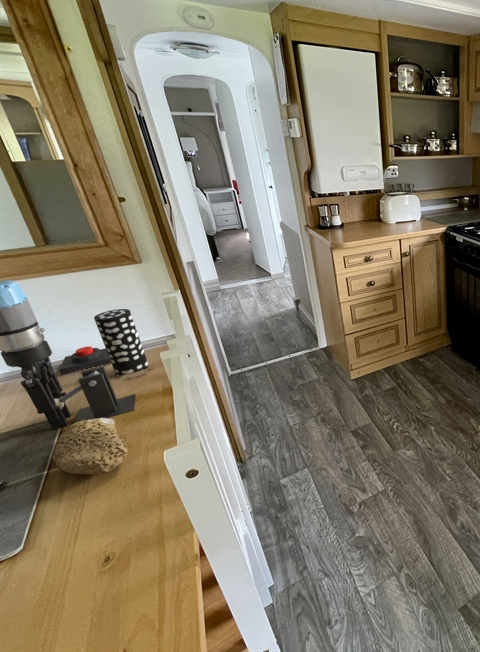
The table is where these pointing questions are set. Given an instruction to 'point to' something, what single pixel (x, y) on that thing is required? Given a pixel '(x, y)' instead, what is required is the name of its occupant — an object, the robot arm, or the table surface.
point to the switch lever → (70, 394)
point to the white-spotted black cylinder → (121, 341)
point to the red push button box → (84, 361)
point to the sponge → (90, 447)
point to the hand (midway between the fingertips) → (63, 424)
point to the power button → (84, 351)
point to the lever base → (102, 397)
